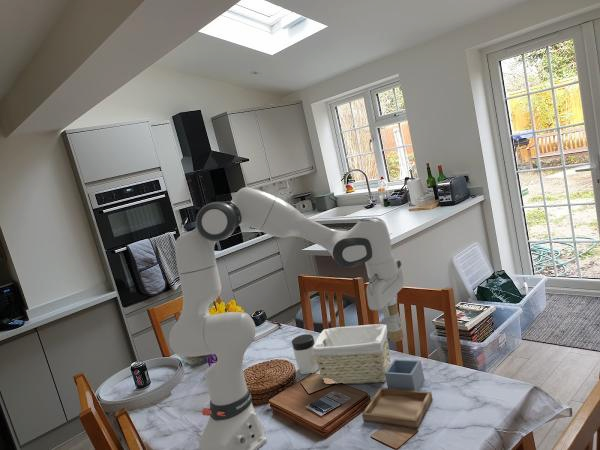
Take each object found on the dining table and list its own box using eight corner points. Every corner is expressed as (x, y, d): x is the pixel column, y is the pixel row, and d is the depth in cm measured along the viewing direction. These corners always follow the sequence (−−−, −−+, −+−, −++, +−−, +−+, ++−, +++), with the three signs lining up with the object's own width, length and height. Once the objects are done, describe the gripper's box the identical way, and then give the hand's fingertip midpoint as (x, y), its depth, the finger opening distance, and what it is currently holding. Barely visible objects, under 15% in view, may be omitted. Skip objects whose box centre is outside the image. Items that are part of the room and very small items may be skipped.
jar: (309, 376, 167) (301, 346, 166) (294, 372, 173) (286, 342, 172) (325, 365, 173) (318, 335, 171) (310, 361, 179) (303, 332, 177)
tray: (417, 428, 124) (416, 420, 124) (363, 421, 133) (362, 414, 133) (432, 399, 136) (431, 392, 135) (382, 394, 145) (380, 387, 144)
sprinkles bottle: (395, 334, 146) (386, 294, 145) (407, 336, 143) (398, 295, 141) (386, 340, 144) (377, 299, 142) (398, 343, 140) (388, 301, 138)
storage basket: (395, 360, 164) (387, 321, 162) (389, 385, 149) (380, 342, 147) (331, 364, 172) (322, 327, 170) (319, 388, 157) (309, 348, 155)
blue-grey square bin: (415, 394, 140) (411, 375, 139) (388, 392, 145) (384, 373, 144) (424, 379, 147) (420, 360, 146) (398, 377, 152) (394, 359, 151)
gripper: (377, 280, 130) (387, 327, 132) (403, 258, 147) (411, 299, 149) (357, 281, 133) (367, 326, 135) (384, 260, 150) (393, 300, 152)
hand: (390, 312), depth 142 cm, fingers closed on sprinkles bottle, 4 cm apart
